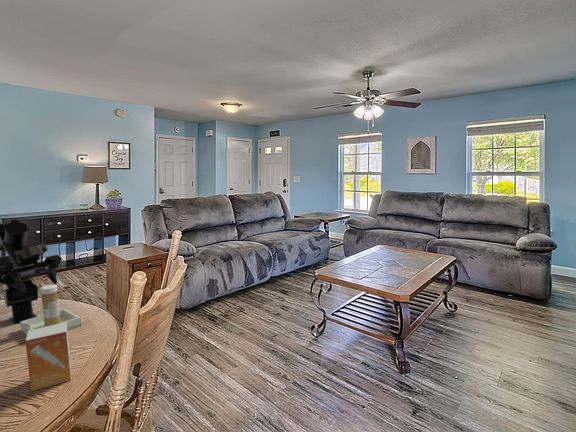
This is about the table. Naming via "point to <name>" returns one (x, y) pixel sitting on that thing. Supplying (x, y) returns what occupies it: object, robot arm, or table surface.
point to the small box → (48, 356)
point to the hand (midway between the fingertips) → (41, 287)
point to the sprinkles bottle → (50, 305)
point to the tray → (64, 315)
